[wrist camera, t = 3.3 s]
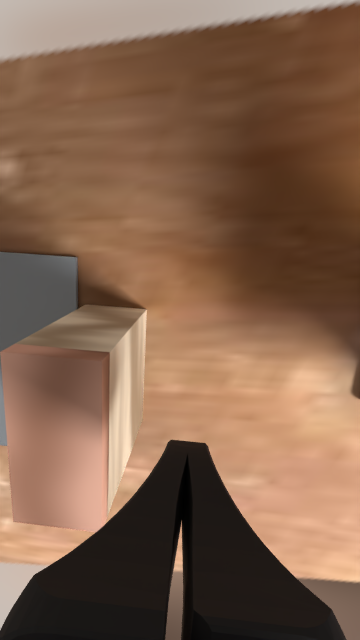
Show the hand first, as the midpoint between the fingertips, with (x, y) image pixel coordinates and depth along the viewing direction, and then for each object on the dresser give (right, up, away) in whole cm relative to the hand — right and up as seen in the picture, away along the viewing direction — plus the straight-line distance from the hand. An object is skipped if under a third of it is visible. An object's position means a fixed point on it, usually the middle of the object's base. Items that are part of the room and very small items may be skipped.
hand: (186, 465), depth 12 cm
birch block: (-5, +2, +11) cm, 12 cm away
